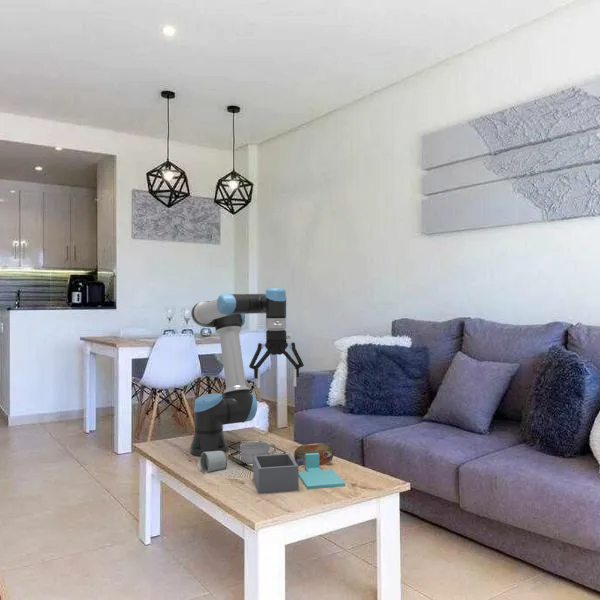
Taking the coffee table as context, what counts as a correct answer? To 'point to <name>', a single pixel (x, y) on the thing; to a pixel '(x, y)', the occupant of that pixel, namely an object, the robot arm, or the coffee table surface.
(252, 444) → the teacup
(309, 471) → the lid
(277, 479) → the tub
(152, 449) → the coffee table surface
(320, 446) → the tin
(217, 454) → the ceramic mug
